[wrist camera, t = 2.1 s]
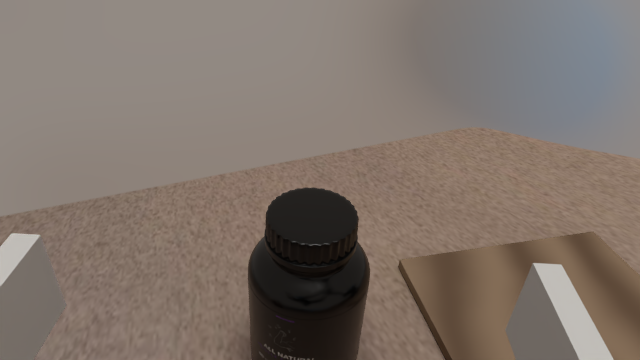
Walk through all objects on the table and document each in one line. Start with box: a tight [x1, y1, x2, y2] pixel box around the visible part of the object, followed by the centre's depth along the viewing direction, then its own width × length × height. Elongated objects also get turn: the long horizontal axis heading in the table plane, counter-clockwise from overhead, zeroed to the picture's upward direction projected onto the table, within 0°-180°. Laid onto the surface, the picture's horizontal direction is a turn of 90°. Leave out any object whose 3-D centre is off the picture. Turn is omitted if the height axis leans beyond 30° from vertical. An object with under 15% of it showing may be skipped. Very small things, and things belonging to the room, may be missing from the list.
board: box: [399, 232, 640, 360], centre depth 34 cm, size 18×14×1 cm
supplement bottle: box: [248, 188, 370, 360], centre depth 28 cm, size 7×7×12 cm
